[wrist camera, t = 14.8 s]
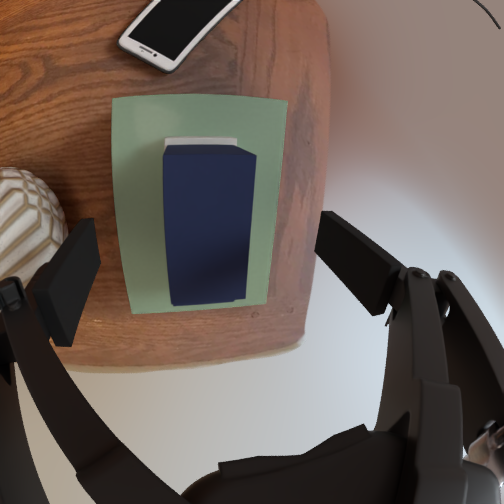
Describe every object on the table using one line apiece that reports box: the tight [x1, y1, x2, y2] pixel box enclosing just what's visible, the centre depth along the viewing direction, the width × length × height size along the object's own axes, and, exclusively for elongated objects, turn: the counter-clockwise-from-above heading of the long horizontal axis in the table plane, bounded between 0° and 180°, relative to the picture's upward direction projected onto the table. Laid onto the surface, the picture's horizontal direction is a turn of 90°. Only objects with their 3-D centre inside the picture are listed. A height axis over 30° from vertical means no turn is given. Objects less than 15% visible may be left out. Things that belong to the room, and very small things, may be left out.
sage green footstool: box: [111, 94, 288, 314], centre depth 26 cm, size 14×20×8 cm
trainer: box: [163, 136, 257, 306], centre depth 19 cm, size 13×5×8 cm, turn 176°
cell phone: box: [117, 0, 243, 74], centre depth 19 cm, size 8×15×1 cm, turn 143°
